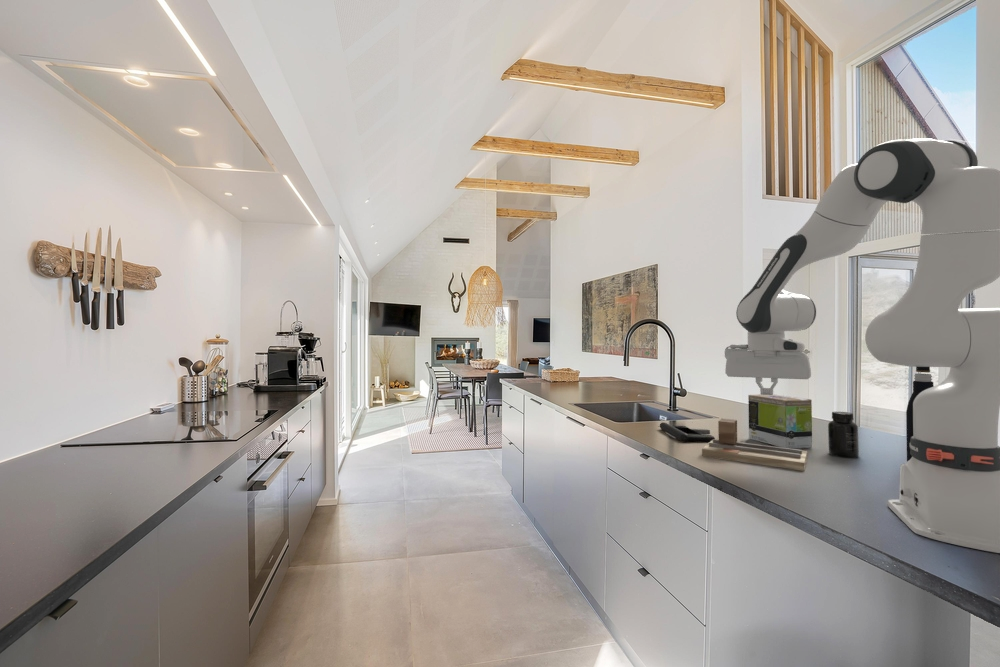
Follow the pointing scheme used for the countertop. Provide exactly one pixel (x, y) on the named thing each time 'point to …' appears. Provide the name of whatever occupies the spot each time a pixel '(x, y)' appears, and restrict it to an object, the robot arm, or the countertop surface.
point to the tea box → (781, 420)
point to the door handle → (686, 433)
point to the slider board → (757, 454)
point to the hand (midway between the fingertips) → (766, 394)
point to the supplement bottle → (843, 435)
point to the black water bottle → (919, 385)
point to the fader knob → (727, 431)
